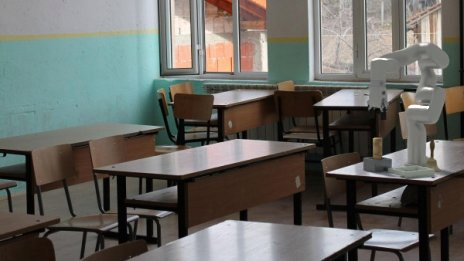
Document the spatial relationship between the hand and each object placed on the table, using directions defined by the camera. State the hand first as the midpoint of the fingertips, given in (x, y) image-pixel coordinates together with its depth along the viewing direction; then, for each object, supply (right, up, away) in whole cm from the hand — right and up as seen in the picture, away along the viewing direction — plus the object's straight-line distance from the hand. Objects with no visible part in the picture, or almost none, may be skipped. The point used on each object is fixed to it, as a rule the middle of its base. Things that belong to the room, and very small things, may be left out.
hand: (377, 119), depth 428 cm
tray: (+15, -27, -5) cm, 32 cm away
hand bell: (+28, -26, +7) cm, 39 cm away
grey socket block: (0, -26, +3) cm, 26 cm away
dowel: (0, -25, +3) cm, 25 cm away
